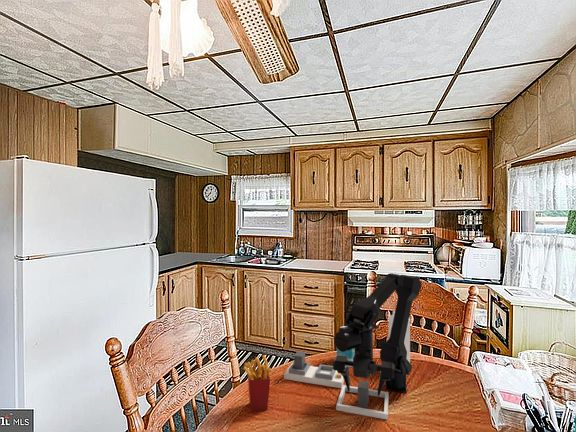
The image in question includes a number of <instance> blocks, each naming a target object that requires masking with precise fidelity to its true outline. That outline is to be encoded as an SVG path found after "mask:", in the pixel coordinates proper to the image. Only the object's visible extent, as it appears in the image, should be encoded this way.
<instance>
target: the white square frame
mask: <svg viewBox="0 0 576 432" xmlns="http://www.w3.org/2000/svg"><path fill="white" fill-rule="evenodd" d="M340 389H341V390H340V391H339V392H340V394H339V396H338V398H337V402H336V407H335V410H336V411H340V412H345V413H349V414H355V415H360V416H366V417H371V418H378V419H383V420H388V412H389V392H388V391H382V390H381V392H380V395H379V396H378V389H377V390H376V389H372V388H369V396H372V397H377V398H383V399H384V404H383V405H384V407H383V411H380V410H375V409H371V408H364V407H359V406H352V405H347V404H343V401H344V397H345V394H346V392H348V393H353V394H354V393H355V394H358V386H351V385H350V391H348V389H347V386H346V384H343V386H342V388H340Z"/></svg>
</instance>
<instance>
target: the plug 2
mask: <svg viewBox="0 0 576 432" xmlns="http://www.w3.org/2000/svg"><path fill="white" fill-rule="evenodd" d="M369 383H370V382H369V381H364V380H358V385H357V387H358V393H357V407H360V408H365V409H369V401H370V400H369V399H370V397H369V396H370V395H369V389H370V384H369Z"/></svg>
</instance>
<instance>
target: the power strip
mask: <svg viewBox="0 0 576 432" xmlns="http://www.w3.org/2000/svg"><path fill="white" fill-rule="evenodd" d="M283 376H284V377H283V378H284V380H290V381H294V382H295V381H296V382H299V383H300V382H301V383H306V384H314V385H320V386H325V387H332V388H338V389H342V386H343V385H344V383H345V380H344V378H343V376H342V375H341V374H340V373H338V372H337V370H334V369H333V365H328V364H327V365H326V364H319V365H318V366H313V365H311V362H306V361H305V368H304V370H299V369H294V361H293V362H291V364H290V365H289V366H288V367H287V369H286V371H285V372H284V373H283Z"/></svg>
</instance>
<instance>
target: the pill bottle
mask: <svg viewBox="0 0 576 432" xmlns="http://www.w3.org/2000/svg"><path fill="white" fill-rule="evenodd" d="M341 327H347V325H343V326H340V327H339V328H341ZM337 355H340V356H347V357H348V361H353V358H354V349H351V350H348V351H345V352H341V351H340V350H338V349H337V348H336V356H337Z"/></svg>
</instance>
